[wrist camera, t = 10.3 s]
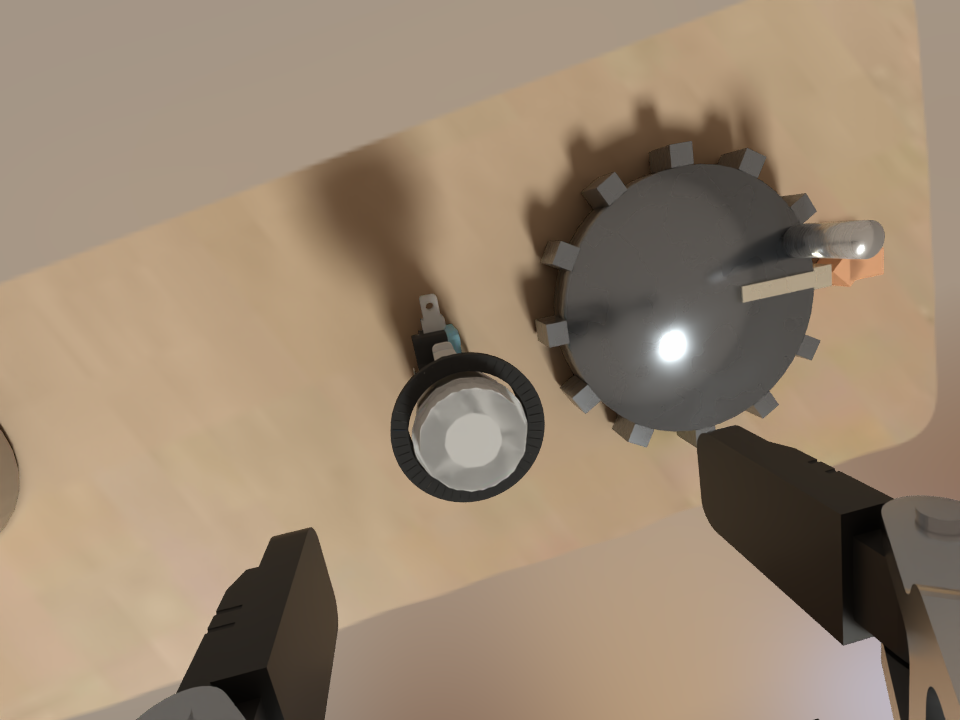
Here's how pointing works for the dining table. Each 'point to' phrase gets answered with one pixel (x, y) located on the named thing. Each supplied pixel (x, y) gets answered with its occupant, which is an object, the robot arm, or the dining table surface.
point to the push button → (463, 418)
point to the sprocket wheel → (690, 292)
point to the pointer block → (854, 268)
